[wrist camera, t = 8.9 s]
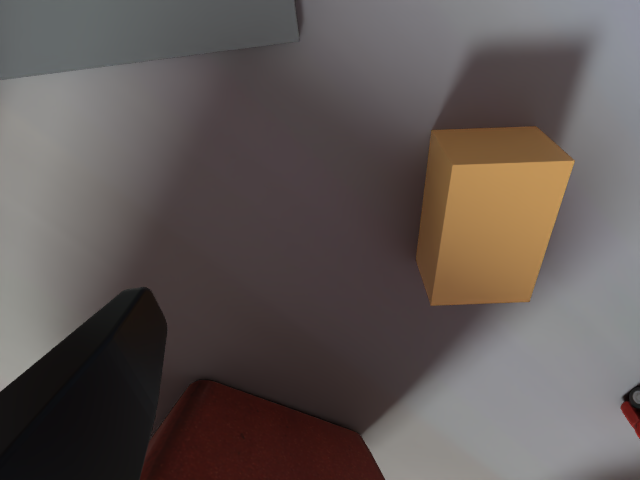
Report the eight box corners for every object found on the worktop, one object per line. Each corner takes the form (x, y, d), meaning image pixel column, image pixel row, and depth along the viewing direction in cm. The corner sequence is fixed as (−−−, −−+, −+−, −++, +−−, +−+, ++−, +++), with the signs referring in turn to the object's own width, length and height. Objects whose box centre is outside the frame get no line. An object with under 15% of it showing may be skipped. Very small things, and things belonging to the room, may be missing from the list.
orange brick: (414, 257, 24) (430, 305, 21) (430, 128, 20) (452, 164, 17) (501, 254, 24) (529, 301, 21) (534, 124, 20) (574, 160, 17)
